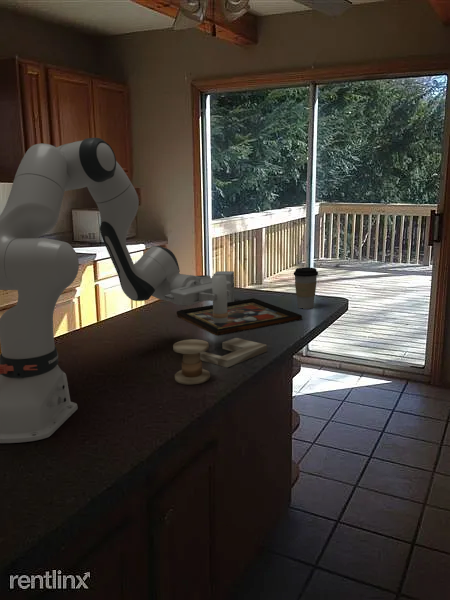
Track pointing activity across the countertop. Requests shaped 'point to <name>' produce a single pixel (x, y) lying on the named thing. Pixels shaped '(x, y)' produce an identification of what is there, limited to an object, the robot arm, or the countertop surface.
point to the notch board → (235, 352)
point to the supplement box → (231, 279)
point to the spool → (191, 362)
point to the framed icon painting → (238, 316)
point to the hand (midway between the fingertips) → (222, 295)
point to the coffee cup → (305, 286)
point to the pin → (220, 298)
